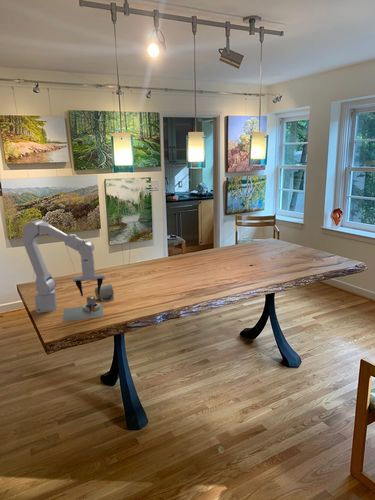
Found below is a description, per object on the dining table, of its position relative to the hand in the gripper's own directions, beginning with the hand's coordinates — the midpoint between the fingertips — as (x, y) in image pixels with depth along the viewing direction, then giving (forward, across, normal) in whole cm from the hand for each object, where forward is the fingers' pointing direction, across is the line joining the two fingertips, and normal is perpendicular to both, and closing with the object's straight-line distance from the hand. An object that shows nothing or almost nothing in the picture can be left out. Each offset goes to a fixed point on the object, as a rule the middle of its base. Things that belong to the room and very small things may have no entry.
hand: (90, 294), depth 181 cm
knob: (+7, 0, 0) cm, 7 cm away
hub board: (+8, -4, -4) cm, 10 cm away
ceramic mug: (+8, +8, +12) cm, 16 cm away
